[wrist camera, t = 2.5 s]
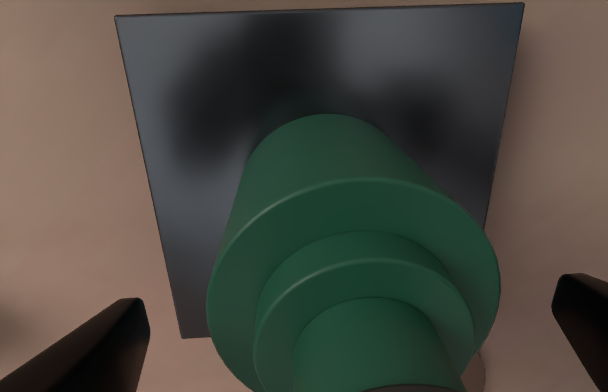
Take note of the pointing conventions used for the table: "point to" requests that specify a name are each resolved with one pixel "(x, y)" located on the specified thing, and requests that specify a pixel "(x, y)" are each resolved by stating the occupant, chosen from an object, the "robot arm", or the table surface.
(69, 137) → the table surface
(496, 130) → the black flat square slab
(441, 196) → the green bottle
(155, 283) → the table surface
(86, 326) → the robot arm
